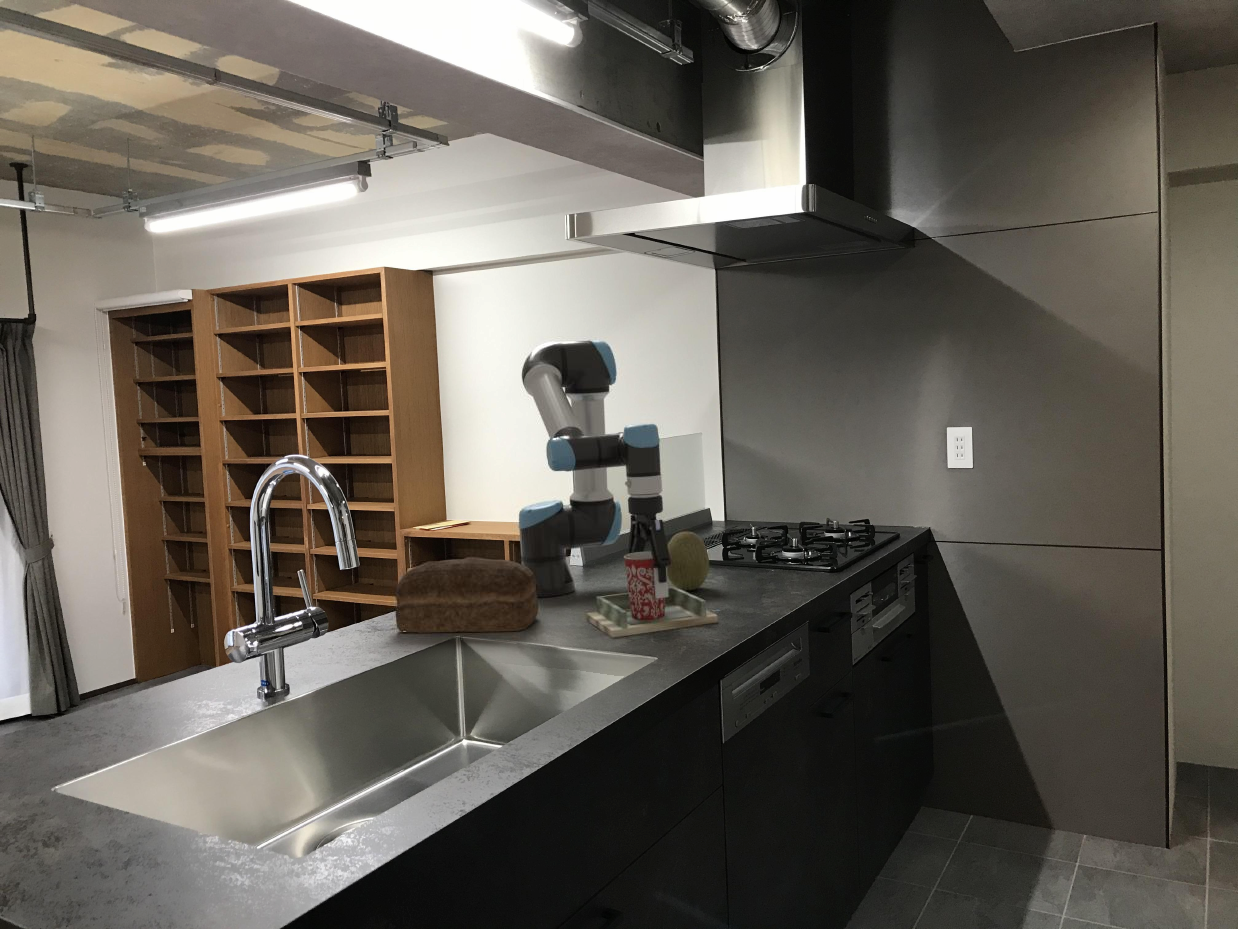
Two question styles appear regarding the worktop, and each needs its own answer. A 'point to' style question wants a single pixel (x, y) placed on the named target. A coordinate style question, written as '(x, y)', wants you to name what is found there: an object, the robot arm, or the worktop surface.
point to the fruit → (687, 561)
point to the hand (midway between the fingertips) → (650, 591)
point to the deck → (678, 614)
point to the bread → (466, 596)
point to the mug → (643, 587)
